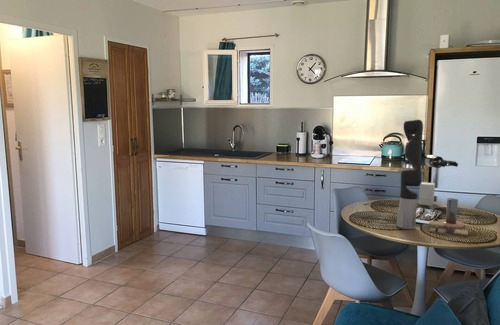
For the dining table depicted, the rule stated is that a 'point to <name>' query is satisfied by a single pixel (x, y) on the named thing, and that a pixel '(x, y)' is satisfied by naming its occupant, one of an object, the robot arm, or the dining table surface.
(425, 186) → the supplement box
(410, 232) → the dining table surface
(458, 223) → the tan round piece
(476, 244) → the dining table surface
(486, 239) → the dining table surface
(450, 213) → the tea canister
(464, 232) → the balance
